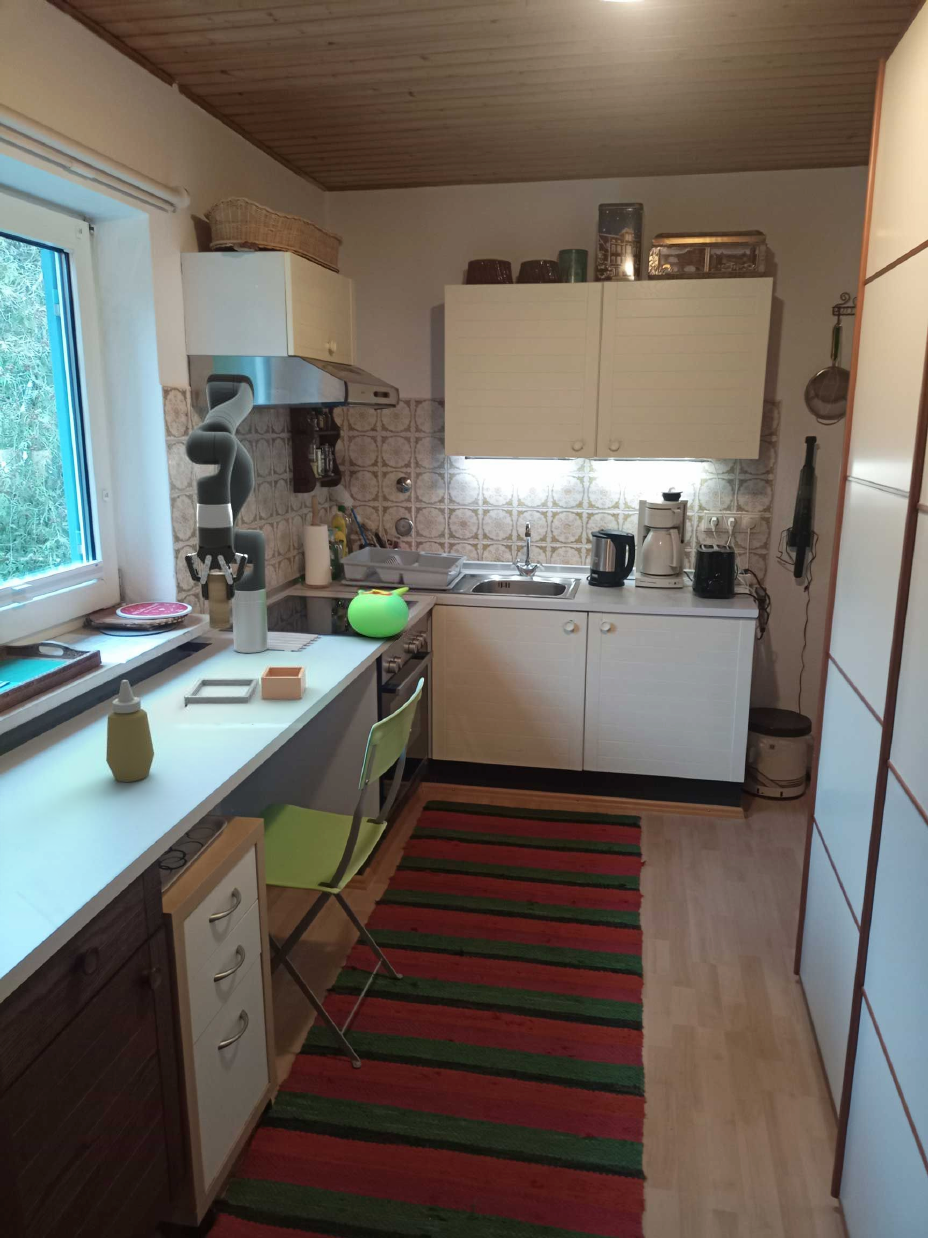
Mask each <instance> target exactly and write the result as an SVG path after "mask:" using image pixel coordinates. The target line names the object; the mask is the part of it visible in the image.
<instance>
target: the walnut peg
mask: <svg viewBox="0 0 928 1238" xmlns="http://www.w3.org/2000/svg"><path fill="white" fill-rule="evenodd" d="M207 583H208V600H207V602H208V617H209V628H210V629H214V630H215V629H217V630H222V629H227V628H230V627H231V615H230V614H231V613H230V610H231V609H230V600H228V597H227V584H228V582H227V579H226V577H225V575H224V573H223V572H210V574H208V576H207Z"/></svg>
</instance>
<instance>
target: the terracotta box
mask: <svg viewBox="0 0 928 1238" xmlns="http://www.w3.org/2000/svg"><path fill="white" fill-rule="evenodd" d="M306 679H307V678H306V666H266V668H265V669H264V671H263V674H262V675H261V677H260V686H261V687H260V688H261V689H260V690H261V700H302V698H303V696H304V693H305V690H306V688H307V687H306V686H307V684H306V683H307V682H306Z"/></svg>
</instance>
